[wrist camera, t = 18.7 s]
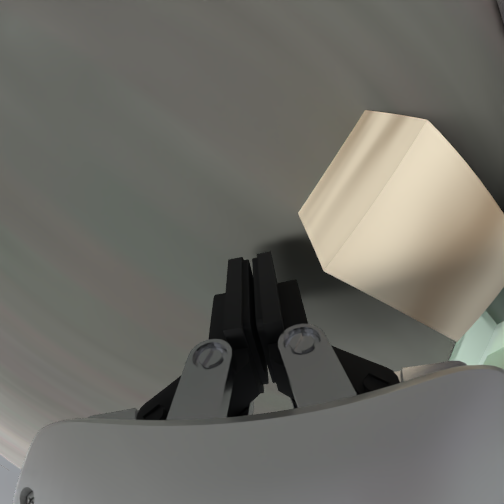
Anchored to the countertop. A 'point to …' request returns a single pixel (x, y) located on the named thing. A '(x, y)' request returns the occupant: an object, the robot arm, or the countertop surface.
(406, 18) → the countertop surface
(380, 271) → the block
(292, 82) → the countertop surface
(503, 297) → the tray
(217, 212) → the countertop surface
